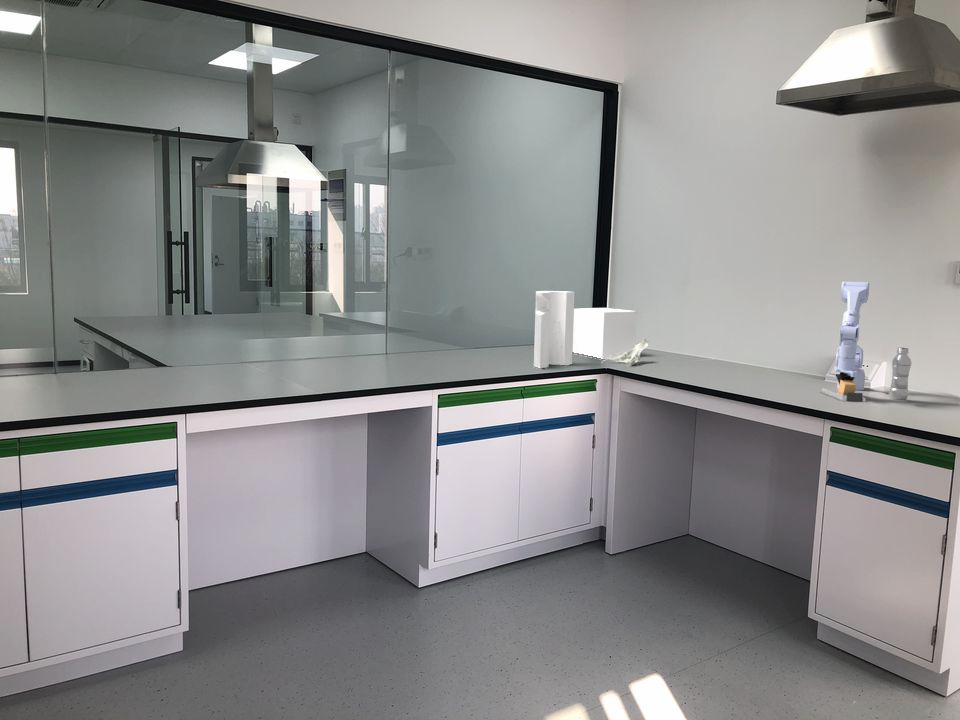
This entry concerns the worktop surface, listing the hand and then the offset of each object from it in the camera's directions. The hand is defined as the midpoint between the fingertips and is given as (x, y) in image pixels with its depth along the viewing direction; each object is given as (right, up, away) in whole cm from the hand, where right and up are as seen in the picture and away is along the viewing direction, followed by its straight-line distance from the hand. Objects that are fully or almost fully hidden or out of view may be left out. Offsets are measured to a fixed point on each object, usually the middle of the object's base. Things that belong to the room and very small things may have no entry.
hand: (843, 393), depth 290 cm
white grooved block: (-106, +10, +72) cm, 128 cm away
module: (0, -1, -1) cm, 2 cm away
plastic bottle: (+20, -3, 0) cm, 21 cm away
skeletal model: (-65, +10, +83) cm, 106 cm away
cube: (-73, +14, +112) cm, 135 cm away
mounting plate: (0, -2, +1) cm, 2 cm away
